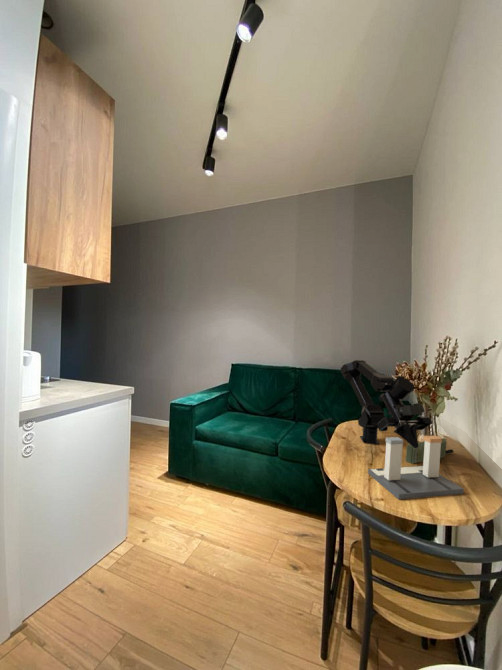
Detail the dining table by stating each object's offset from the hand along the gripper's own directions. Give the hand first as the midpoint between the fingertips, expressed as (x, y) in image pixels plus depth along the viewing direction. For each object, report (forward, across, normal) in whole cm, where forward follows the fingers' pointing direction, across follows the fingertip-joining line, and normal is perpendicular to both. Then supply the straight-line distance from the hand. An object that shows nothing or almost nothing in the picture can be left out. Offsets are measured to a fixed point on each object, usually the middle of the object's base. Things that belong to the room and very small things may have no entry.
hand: (416, 447), depth 91 cm
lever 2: (+9, 0, 0) cm, 9 cm away
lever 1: (+9, -14, 0) cm, 16 cm away
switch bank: (+11, -6, +1) cm, 12 cm away
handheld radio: (0, +15, +12) cm, 19 cm away
